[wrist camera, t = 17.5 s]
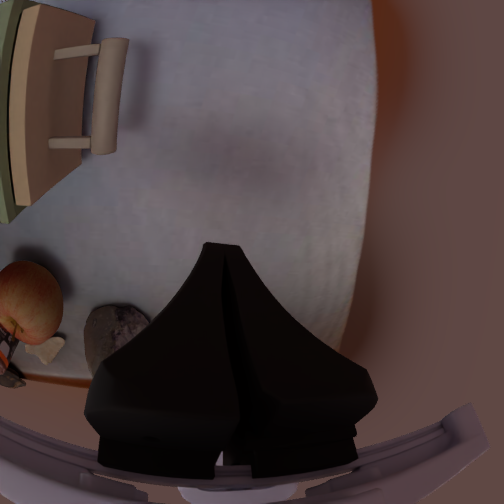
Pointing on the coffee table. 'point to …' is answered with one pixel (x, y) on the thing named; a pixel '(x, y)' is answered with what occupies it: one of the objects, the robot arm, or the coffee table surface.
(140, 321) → the mineral rock
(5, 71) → the cabinet
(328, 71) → the coffee table surface
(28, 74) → the drawer
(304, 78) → the coffee table surface
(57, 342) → the stone tool
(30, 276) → the apple
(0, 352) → the supplement bottle
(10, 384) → the decorative plaque
